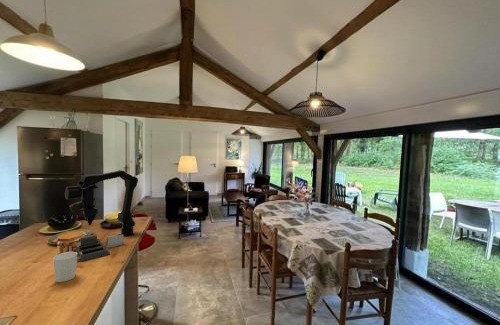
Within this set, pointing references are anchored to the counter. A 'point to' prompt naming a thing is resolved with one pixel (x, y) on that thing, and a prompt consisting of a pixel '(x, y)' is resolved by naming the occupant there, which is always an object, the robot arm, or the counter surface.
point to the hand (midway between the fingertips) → (88, 223)
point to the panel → (114, 240)
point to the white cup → (65, 266)
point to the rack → (90, 248)
